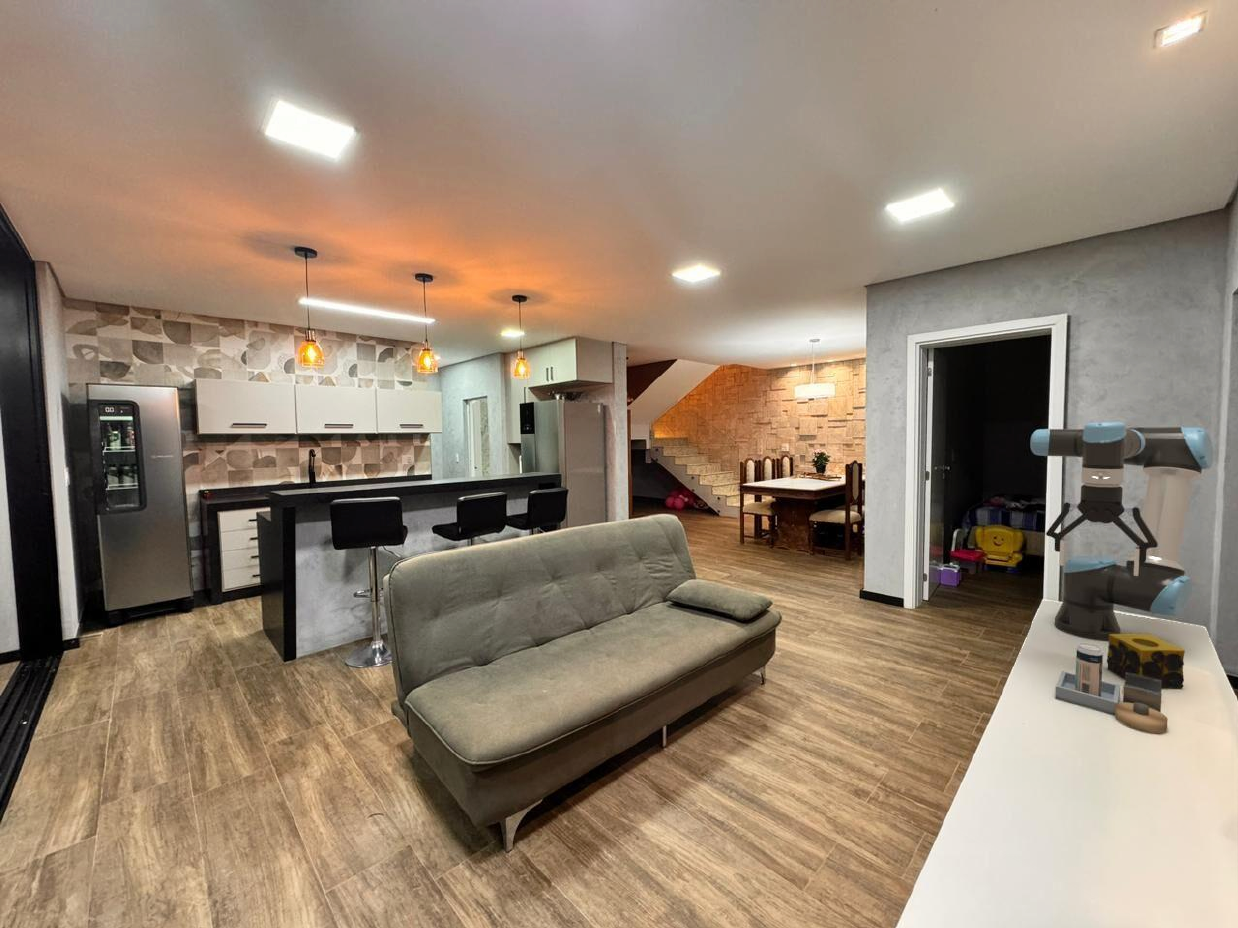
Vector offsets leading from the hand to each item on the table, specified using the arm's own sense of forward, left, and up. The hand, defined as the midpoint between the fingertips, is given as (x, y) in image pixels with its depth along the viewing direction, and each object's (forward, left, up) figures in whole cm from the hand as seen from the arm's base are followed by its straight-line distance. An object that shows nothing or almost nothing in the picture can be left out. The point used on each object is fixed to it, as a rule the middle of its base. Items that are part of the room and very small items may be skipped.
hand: (1097, 569), depth 129 cm
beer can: (+12, 0, -28) cm, 31 cm away
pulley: (+18, +9, -29) cm, 35 cm away
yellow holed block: (-9, +9, -29) cm, 32 cm away
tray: (+12, 0, -29) cm, 31 cm away
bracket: (+7, +9, -29) cm, 31 cm away
